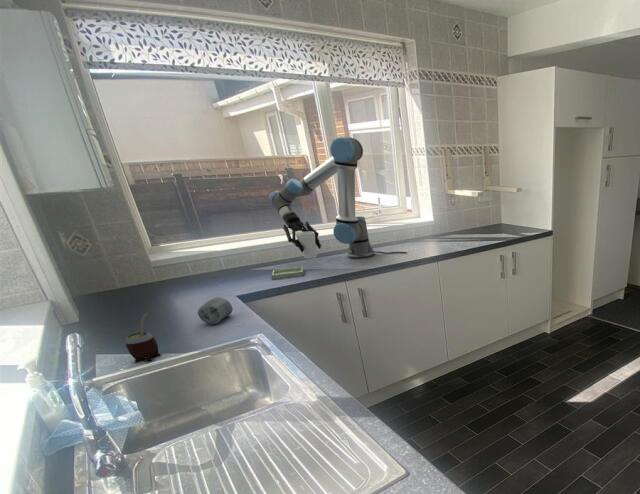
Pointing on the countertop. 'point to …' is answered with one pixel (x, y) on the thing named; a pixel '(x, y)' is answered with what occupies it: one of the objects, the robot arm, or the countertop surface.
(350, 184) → the robot arm
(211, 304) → the grey rolled towel
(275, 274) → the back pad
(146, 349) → the mate gourd
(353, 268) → the countertop surface
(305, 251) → the foam cup
